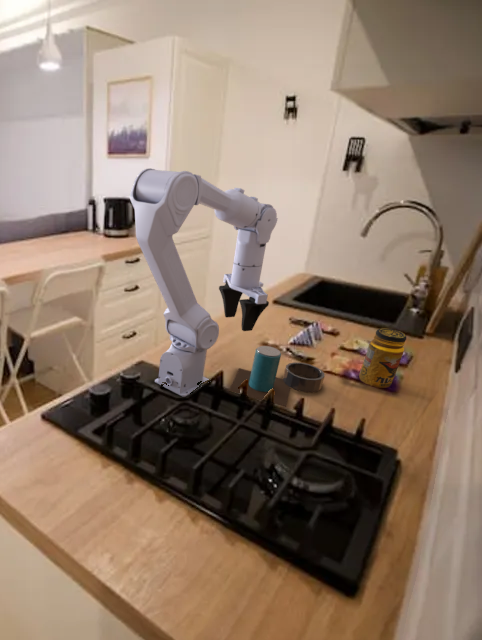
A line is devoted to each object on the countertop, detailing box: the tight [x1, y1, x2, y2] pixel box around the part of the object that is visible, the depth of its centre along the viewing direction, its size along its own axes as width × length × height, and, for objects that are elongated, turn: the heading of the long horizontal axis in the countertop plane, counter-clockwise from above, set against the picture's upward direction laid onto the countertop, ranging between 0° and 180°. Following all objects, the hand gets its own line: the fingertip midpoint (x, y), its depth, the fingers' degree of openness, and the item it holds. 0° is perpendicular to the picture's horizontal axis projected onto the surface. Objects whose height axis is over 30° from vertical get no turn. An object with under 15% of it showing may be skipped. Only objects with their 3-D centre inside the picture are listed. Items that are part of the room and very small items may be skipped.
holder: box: [282, 361, 326, 393], centre depth 86 cm, size 7×7×4 cm
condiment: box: [358, 327, 407, 389], centre depth 86 cm, size 7×8×12 cm
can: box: [249, 345, 282, 392], centre depth 83 cm, size 5×5×8 cm
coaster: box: [228, 368, 291, 408], centre depth 85 cm, size 11×11×1 cm
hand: (238, 323), depth 90 cm, fingers open, 7 cm apart
